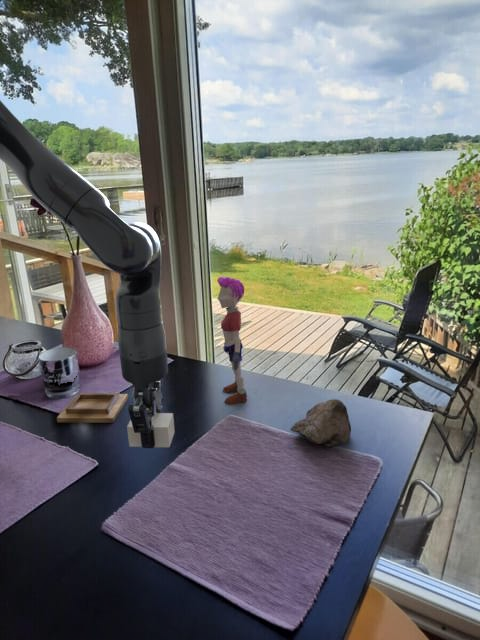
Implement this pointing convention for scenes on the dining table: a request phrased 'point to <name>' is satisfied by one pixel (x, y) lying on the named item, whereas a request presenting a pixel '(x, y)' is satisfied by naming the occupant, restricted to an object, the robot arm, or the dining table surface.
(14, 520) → the dining table surface
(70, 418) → the small square wooden tray
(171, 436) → the beige rectangular block
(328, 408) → the rock
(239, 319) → the toy
